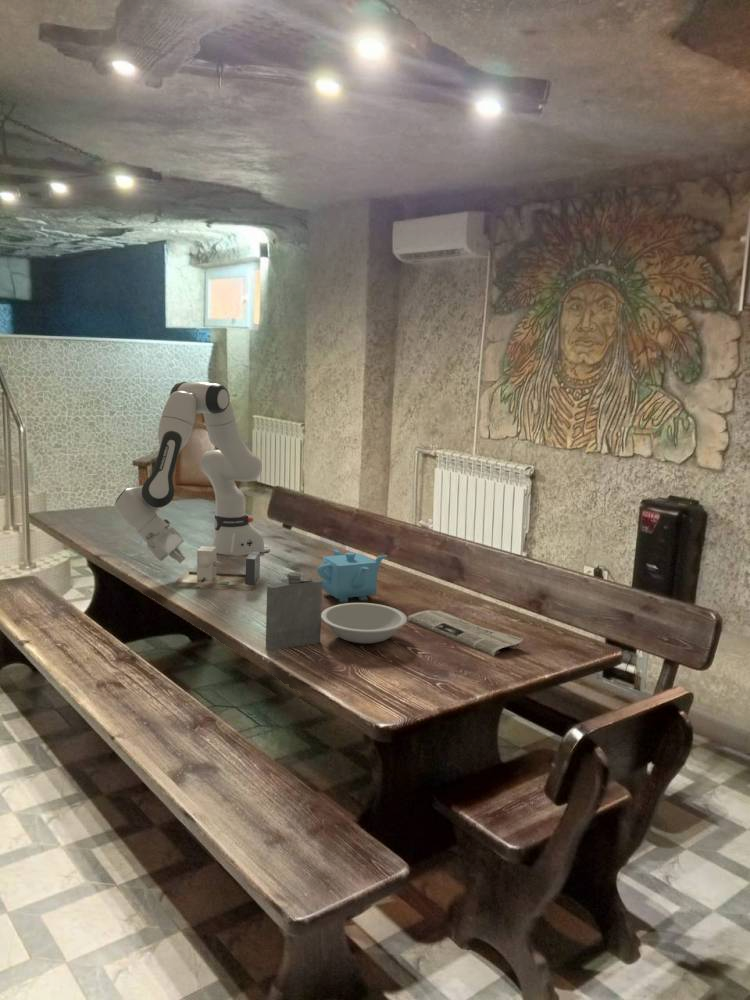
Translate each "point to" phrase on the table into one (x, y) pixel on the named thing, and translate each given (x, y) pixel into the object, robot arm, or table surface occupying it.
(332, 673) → the table surface
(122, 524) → the table surface
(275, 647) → the hip flask
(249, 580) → the dark grey slab
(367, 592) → the teakettle
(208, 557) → the block
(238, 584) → the board
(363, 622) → the soup bowl
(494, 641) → the newspaper
